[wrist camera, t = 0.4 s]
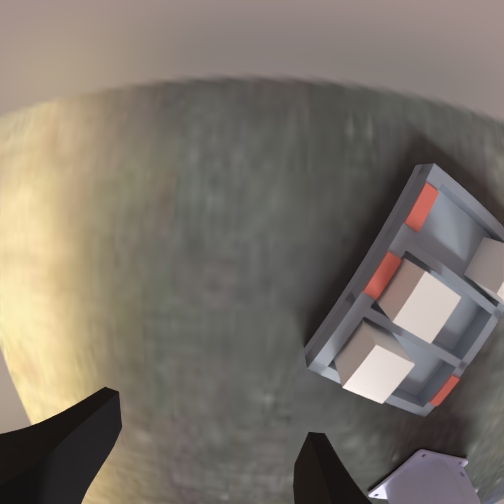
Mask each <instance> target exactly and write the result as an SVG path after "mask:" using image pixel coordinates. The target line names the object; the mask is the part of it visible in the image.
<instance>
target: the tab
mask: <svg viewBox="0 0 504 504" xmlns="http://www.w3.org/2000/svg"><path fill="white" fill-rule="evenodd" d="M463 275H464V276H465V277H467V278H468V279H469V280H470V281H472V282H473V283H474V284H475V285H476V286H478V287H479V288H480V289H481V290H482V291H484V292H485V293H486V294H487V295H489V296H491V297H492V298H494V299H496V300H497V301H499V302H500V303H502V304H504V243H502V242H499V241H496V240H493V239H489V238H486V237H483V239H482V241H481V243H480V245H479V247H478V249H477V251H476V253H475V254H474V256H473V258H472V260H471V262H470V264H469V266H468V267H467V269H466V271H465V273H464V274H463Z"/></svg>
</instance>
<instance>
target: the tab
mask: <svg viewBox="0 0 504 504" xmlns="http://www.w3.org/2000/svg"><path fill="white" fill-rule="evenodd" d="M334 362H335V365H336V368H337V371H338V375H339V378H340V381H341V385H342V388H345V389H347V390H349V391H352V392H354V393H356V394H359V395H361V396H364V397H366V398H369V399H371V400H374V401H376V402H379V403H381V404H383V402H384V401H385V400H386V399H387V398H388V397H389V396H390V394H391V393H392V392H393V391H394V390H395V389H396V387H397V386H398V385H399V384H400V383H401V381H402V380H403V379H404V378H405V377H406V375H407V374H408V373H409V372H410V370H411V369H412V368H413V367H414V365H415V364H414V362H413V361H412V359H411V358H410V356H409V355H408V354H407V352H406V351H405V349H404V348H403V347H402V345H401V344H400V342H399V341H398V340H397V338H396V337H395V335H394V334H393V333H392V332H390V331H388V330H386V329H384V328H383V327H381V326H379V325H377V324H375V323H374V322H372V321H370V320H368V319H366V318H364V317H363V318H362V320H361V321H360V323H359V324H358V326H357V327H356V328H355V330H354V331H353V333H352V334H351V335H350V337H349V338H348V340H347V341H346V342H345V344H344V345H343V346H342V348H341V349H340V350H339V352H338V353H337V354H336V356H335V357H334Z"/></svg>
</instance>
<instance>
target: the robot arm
mask: <svg viewBox="0 0 504 504" xmlns="http://www.w3.org/2000/svg"><path fill="white" fill-rule="evenodd" d="M121 429H122V421H121V411H120V399H119V392H118V391H116V390H113V389H110V388H107V387H104V388H102V389H100V390H99V391H97V392H95V393H94V394H92V395H90V396H89V397H87V398H86V399H84V400H82V401H81V402H79V403H77V404H75V405H74V406H72V407H70V408H68V409H66V410H65V411H63V412H61V413H59V414H57V415H55V416H53V417H51V418H49V419H46V420H44V421H42V422H40V423H37V424H35V425H32V426H29V427H26V428H23V429H19V430H15V431H11V432H7V433H3V434H0V504H81V503H82V500H83V498H84V496H85V494H86V491H87V490H88V488H89V486H90V484H91V483H92V481H93V479H94V478H95V476H96V474H97V473H98V471H99V470H100V468H101V466H102V465H103V463H104V462H105V460H106V458H107V457H108V455H109V454H110V452H111V450H112V449H113V447H114V445H115V442H116V440H117V438H118V436H119V433H120V431H121ZM467 463H468V460H467V459H464V458H459V457H454V456H450V455H445V454H441V453H436V452H432V451H428V450H424V449H420V450H418V451H417V452H416V453H415V454H414V455H413V456H411V457H410V458H409V459H408V460H407V461H406V462H405V463H404V464H403V465H401V466H400V467H399V468H398V469H397V470H396V471H394V472H393V473H392V474H391V475H390V476H388V477H387V478H386V479H385V480H383V481H382V482H381V483H380V484H378V485H377V486H376V487H375V488H373V489H372V490H371V491H369V492H368V496H369V497H375V498H382V499H388V503H389V504H480V500H479V498H478V496H477V494H476V492H475V490H474V488H473V486H472V484H471V482H470V480H469V478H468V476H467V475H466V473H465V471H464V469H463V467H464V466H465V465H466V464H467ZM293 488H294V502H295V504H372V503H371V502H370V501H369V500H368V499H367V497H366V496H365V495H364V494H363V493H362V491H361V490H360V489H359V487H358V486H357V485H356V483H355V482H354V481H353V479H352V478H351V476H350V475H349V473H348V472H347V470H346V469H345V467H344V466H343V464H342V462H341V461H340V459H339V457H338V456H337V454H336V452H335V451H334V449H333V447H332V445H331V443H330V442H329V440H328V438H327V436H326V435H325V433H314V432H309V433H308V435H307V437H306V440H305V442H304V444H303V446H302V449H301V451H300V453H299V455H298V458H297V460H296V462H295V465H294V483H293Z"/></svg>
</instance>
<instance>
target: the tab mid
mask: <svg viewBox="0 0 504 504" xmlns="http://www.w3.org/2000/svg"><path fill="white" fill-rule="evenodd" d="M401 260H402V261H401V263H400V264H399V266H398V268H397V269H396V271H395V272H394V274H393V276H392V277H391V279H390V280H389V282H388V284H387V285H386V287H385V288H384V290H383V291H382V293H381V294H380V296H379V298H378V299H377V300H376V299H375V301H376V302H377V304H378V305H379V306H380V307H381V309H382V310H383V311H384V312H385V314H386V315H387V316H388V317H389V319H390V320H391V321H392V322H393V323H395V324H396V325H398V326H400V327H402V328H403V329H405V330H407V331H409V332H410V333H412V334H414V335H416V336H417V337H419V338H421V339H422V340H424V341H426V342H428V343H429V344H431V343H432V341H433V340H434V338H435V337H436V335H437V334H438V333H439V331H440V330H441V328H442V327H443V325H444V324H445V322H446V321H447V319H448V318H449V316H450V315H451V313H452V312H453V310H454V309H455V307H456V305H457V304H458V302H459V301H460V299H461V297H460V296H459V295H458V294H456V293H455V292H454V291H452V290H451V289H450V288H448V287H447V286H445V285H444V284H443V283H441V282H440V281H439V280H437V279H436V278H434V277H433V276H432V275H430V274H429V273H427V272H426V271H424V270H423V269H421V268H420V267H418V266H417V265H415V264H413V263H412V262H410V261H409V260H407V259H405V258H404V257H402V258H401Z"/></svg>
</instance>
